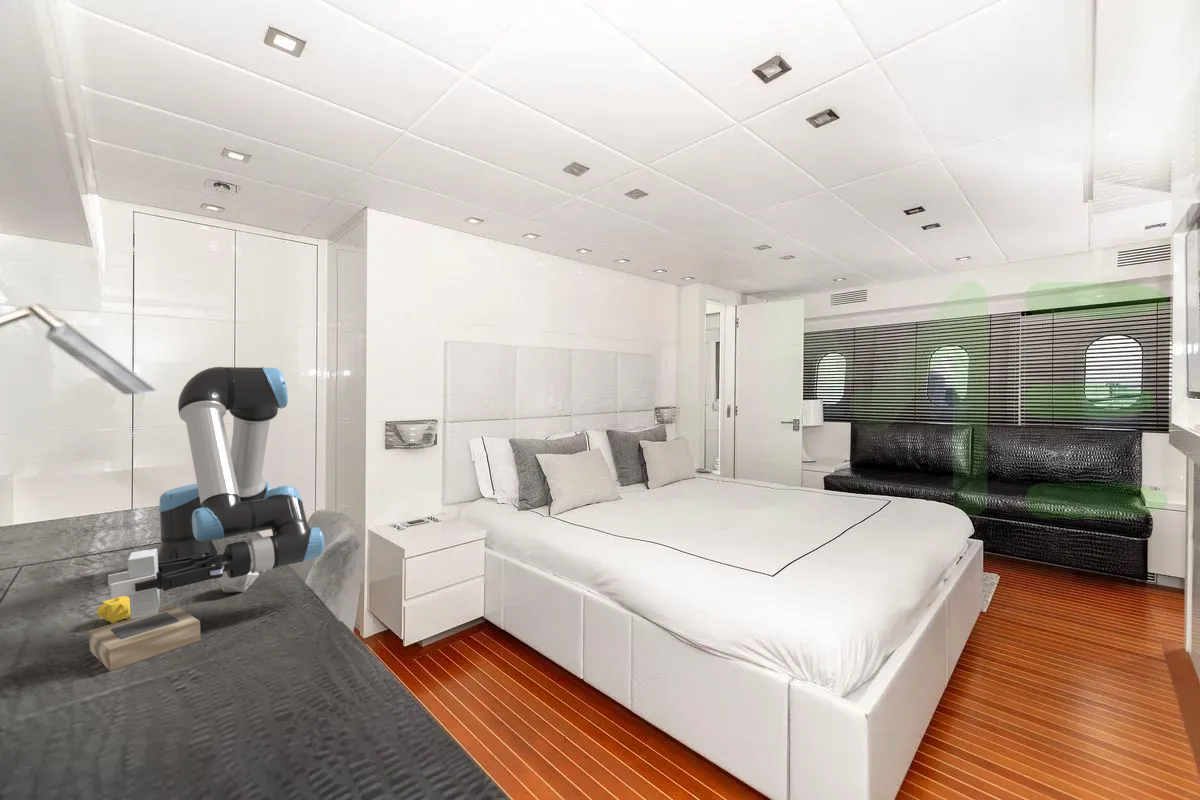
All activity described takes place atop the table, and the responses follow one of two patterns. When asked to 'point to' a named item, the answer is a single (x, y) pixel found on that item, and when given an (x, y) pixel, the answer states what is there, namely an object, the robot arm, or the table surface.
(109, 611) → the teapot
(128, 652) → the plinth
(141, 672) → the table surface
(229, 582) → the die
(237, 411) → the robot arm
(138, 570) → the skincare box
